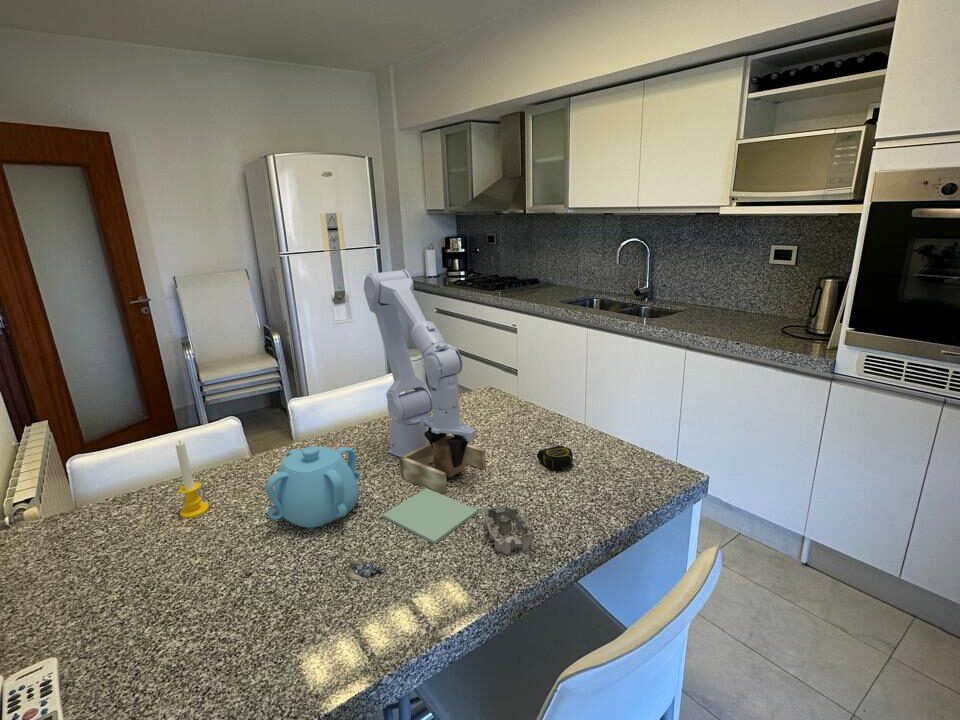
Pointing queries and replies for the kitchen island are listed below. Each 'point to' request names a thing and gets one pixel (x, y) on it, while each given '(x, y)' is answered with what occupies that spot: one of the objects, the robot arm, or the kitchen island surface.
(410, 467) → the open-side box
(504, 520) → the egg carton
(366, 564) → the blueberries
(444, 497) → the sage mat
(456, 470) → the walnut block
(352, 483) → the decorative pot
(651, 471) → the kitchen island surface
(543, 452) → the tape measure
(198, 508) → the candle
